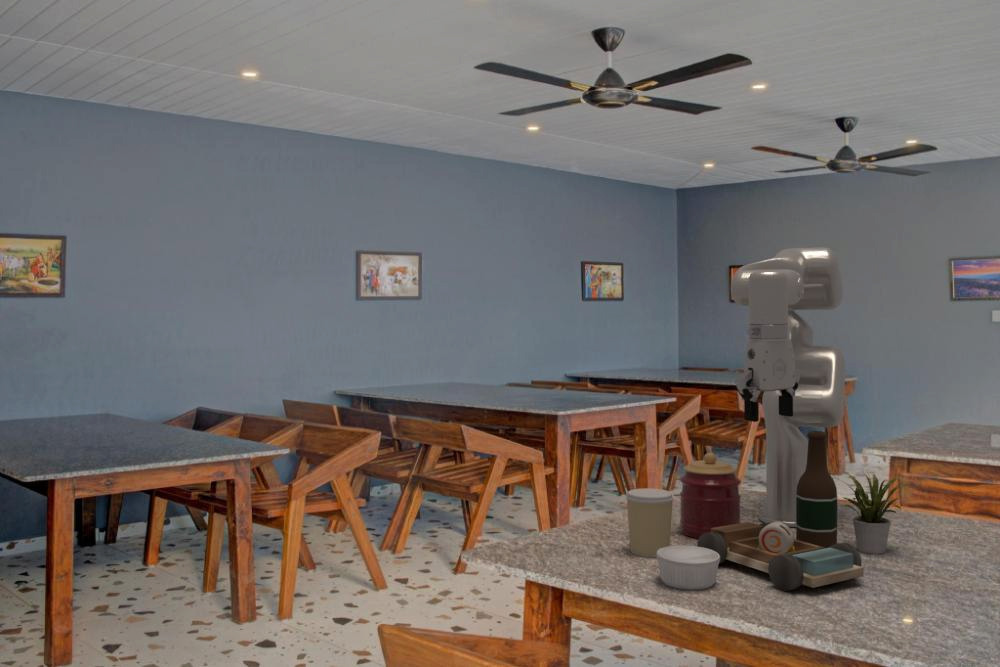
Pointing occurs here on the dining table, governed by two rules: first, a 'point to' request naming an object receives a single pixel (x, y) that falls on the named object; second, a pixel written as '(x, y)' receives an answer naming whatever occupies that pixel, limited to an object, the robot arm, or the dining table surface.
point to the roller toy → (776, 538)
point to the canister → (709, 496)
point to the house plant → (872, 515)
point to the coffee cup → (649, 520)
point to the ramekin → (688, 566)
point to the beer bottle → (816, 497)
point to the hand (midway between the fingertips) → (768, 418)
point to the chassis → (784, 557)
